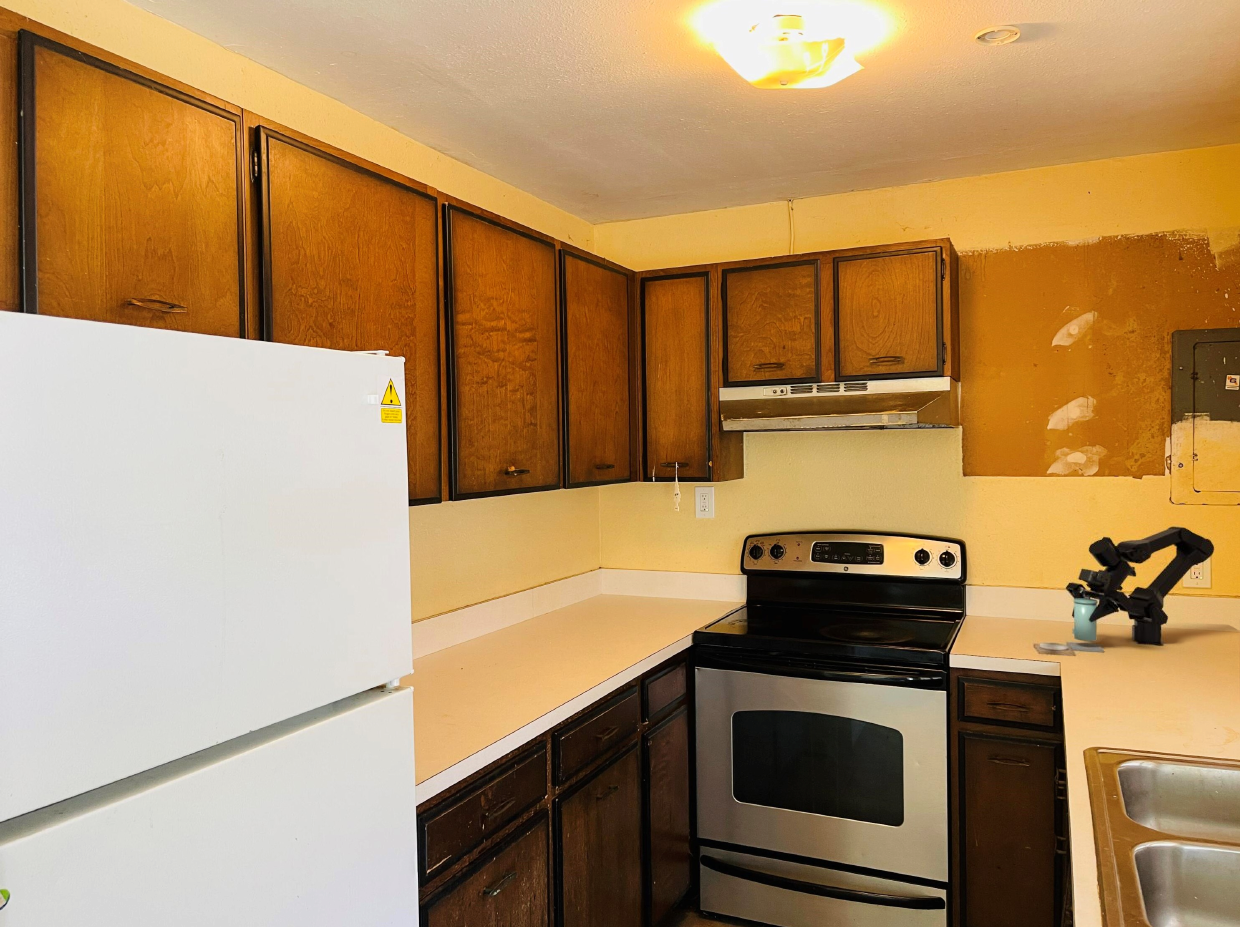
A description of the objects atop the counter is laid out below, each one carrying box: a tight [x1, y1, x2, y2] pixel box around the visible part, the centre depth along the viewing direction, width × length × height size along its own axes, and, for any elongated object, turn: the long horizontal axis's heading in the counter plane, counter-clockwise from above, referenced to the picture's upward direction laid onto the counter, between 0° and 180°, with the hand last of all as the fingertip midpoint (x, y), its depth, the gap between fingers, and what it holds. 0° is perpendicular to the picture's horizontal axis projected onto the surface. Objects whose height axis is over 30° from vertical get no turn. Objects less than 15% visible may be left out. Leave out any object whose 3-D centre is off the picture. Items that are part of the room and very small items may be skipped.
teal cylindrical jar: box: [1071, 598, 1099, 642], centre depth 251 cm, size 6×6×11 cm
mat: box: [1065, 641, 1105, 653], centre depth 252 cm, size 8×8×1 cm
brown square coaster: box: [1033, 642, 1076, 657], centre depth 248 cm, size 9×9×2 cm
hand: (1081, 619), depth 251 cm, fingers closed on teal cylindrical jar, 6 cm apart
